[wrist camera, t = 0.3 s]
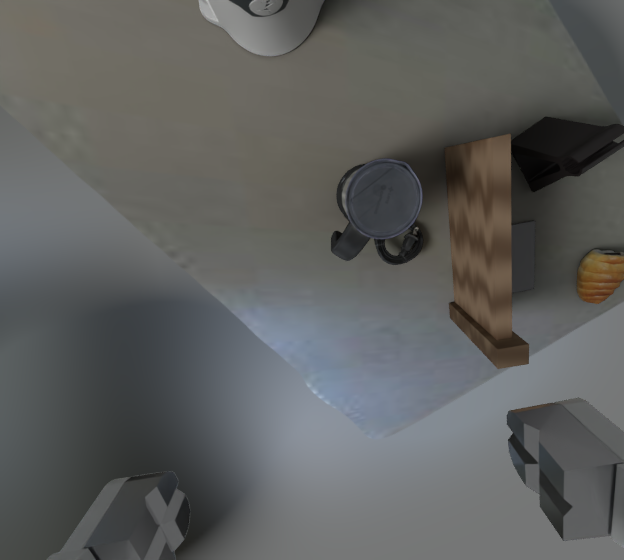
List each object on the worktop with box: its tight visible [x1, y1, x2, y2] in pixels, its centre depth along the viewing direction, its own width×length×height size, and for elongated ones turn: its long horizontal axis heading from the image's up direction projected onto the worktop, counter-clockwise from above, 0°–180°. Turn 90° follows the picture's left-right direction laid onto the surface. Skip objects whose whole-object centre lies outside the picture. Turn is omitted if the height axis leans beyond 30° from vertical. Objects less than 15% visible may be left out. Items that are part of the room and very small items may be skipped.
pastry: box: [577, 249, 624, 304], centre depth 53 cm, size 9×7×4 cm
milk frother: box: [331, 159, 423, 265], centre depth 45 cm, size 14×16×15 cm
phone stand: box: [511, 117, 624, 192], centre depth 43 cm, size 9×6×12 cm, turn 37°
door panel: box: [445, 134, 529, 369], centre depth 46 cm, size 29×5×16 cm, turn 11°
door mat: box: [511, 221, 535, 293], centre depth 54 cm, size 12×11×1 cm
